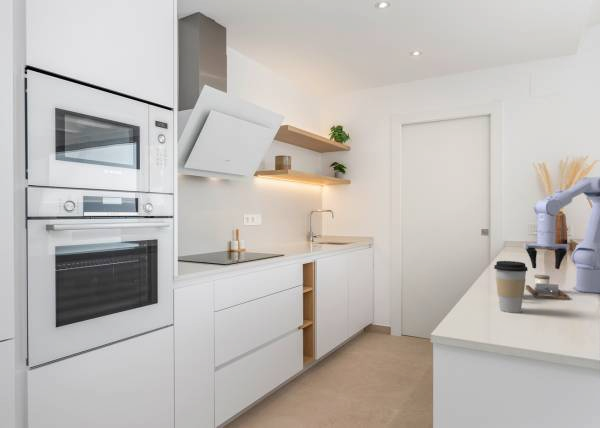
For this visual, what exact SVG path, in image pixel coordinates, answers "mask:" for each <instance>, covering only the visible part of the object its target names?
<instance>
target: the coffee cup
mask: <svg viewBox="0 0 600 428" xmlns="http://www.w3.org/2000/svg"><path fill="white" fill-rule="evenodd" d="M493 269H494V270H495V269H496V271H497V283H496V289H497V288H498V292H497V296H498V295H499V297H498V300H499V310H500V311H502V312H504V311H505V313H509V312H510V314H511V313H513V314H519V313H521V312H522V306H523V298H524V293H525V289H526V273H527V272H528V271H529V270H528V267H527V266H526V263H525V262H522V261H513V260H498V261H496V263H495V265H494V267H493Z"/></svg>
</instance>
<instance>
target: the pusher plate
mask: <svg viewBox="0 0 600 428" xmlns="http://www.w3.org/2000/svg"><path fill="white" fill-rule="evenodd" d="M558 289H559V284H556V283H555V284H554V283H549V284H541V283H536V292H538V295H545V296H559V295H558Z"/></svg>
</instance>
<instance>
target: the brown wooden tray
mask: <svg viewBox="0 0 600 428" xmlns="http://www.w3.org/2000/svg"><path fill="white" fill-rule="evenodd" d="M525 290H527V292H529V294H531V295H532V296H533V297H534V298H535V299H547V300H561V301H569V299H570V298H569V296H568V294H567V293H565V292H564V291H562V290H561V289H559V288H558V296H552V295H538V292H536V291H535V288H533V287H531V286H530V285H529V284H525Z"/></svg>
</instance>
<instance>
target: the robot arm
mask: <svg viewBox="0 0 600 428" xmlns="http://www.w3.org/2000/svg"><path fill="white" fill-rule="evenodd" d="M581 194H583V195H584V196H585V197H586V198H587V199H588V200H590V201H591V202H592V207H591V210H590V215H589V217H588V223H587V226H586V229H585V233H584V237H583V239H582V241H581V242H580V243H577V244H576V245H575V248H574V250H573V251H572V254H571V257H570V258H571V262H572V263H573V265H574V266H575V267H576V277H575V278H576V282H575V283H576V284H575V285H576V286H572V289H574V290H576V291H578V292H582V293H596V294H600V176H596V177H595V176H593V177H590V176H589V177H587V176H586V177H583V178H581V179H579V180H578V181H577V183H575V184H574V185H572V186H571V187H569V188H568V189H566V190H565V189H557V190H556V191H555V193H553V194H552V195H548V196H546V198H545V199H539V200H538V201H537V202H535V204H534V207H533V210H534V213H535V218H536V220H537V229H536V230H537V231H536V232H537V234H536V235H537V236H536V238H537V239H536V242H523V249H525V250H526V251H525V252H527V255H528V256H529V259H530V262H531V267H532V269H537V254H538V251H537V249H538V250H554V255H555V257H554V258H555V260H554V261H555V262H554V266H555V267H554V269H556V270H560V268H561V264H562V262H563V259H564V257H565V256H566V255H567V254H568V253H567V251H568V250H570V244H568V243H556V225H557V224H556V221H557V220H556V219H557V217H556V216H557V215H558V214H559V213H560V211H561V210H562V209H563V208H564V207H566V206H568V205H569V204H571V203H572V201H573V198H575V197H577V196H580V195H581Z"/></svg>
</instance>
